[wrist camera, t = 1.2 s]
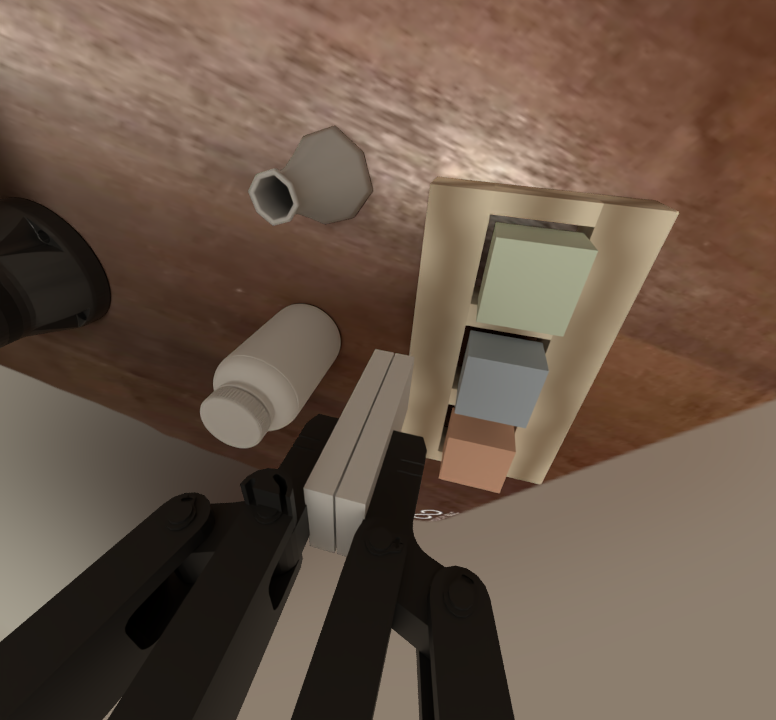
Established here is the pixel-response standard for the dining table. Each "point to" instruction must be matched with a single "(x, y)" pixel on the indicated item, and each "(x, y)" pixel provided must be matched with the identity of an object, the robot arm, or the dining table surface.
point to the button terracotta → (477, 452)
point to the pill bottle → (270, 375)
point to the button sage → (534, 277)
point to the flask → (315, 181)
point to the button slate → (501, 378)
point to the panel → (563, 354)
